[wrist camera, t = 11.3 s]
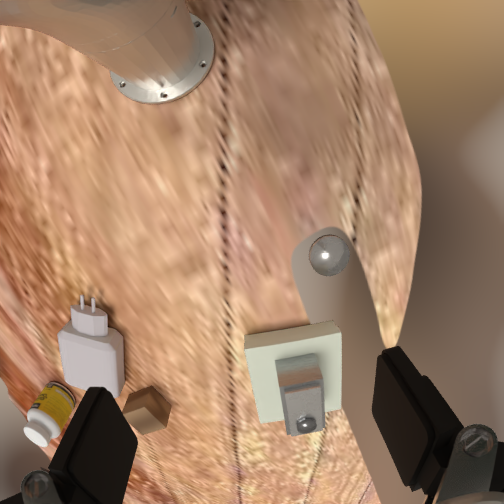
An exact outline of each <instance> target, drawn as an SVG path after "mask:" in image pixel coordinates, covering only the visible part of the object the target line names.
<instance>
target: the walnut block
mask: <svg viewBox="0 0 504 504" xmlns="http://www.w3.org/2000/svg"><path fill="white" fill-rule="evenodd" d="M170 410H171V405H170V404H169V403H168V402H167V401H166V400H165V399H164V398H163V397H162V396H161V395H160V394H159V393H158V392H157V391H156V390H155V389H154V387H153V386H149V387H147V388H144V389H142V390H139V391H137V392H134V393H132V394H129V396H128V399H127V401H126V404H125V406H124V409H123V411H122V413H123V415H124V417H125V419H126V420H127V421H128V422H129V423H130V424H131V425H132V426H133V427H134V428H135V429H136V430H138V431H139V432H140V433H141V434H142V435H144V434H148V433H151V432H154V431H158V430H161V429H164V428H166V427H167V423H168V419H169V414H170Z"/></svg>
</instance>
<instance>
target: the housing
mask: <svg viewBox="0 0 504 504" xmlns="http://www.w3.org/2000/svg"><path fill="white" fill-rule="evenodd" d="M275 365H276V371H277V377H278V383H279V389H280V395H281V401H282V407H283V413H284V419H285V425H286V431H287V435H290V434H291V436H297V435H302V434H307V433H312V432H317V431H322V430H323V428H325V403H324V381H323V376H322V373H321V370H320V368H319V365H318V362H317V359H316V357H315V354H314V353H311V354H306V355H300V356H295V357H290V358H284V359H279V360H275Z"/></svg>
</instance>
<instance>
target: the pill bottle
mask: <svg viewBox="0 0 504 504" xmlns="http://www.w3.org/2000/svg"><path fill="white" fill-rule="evenodd" d="M74 407H75V399H74V397H73V395H72V393H71V392H70V391H69V390H68V389H67V388H66V387H64V386H63V385H61V384H58V383H55V382H51V383H48V384H47V385H46V386H45V388H44V389H43V391H42V392H41V393H40V395H39V396H38V398H37V399H36V401H35V402H34V404H33V405H32V406H31V408H30V409H29V411H28V413H27V418H28V421H29V422H28V423H27V424H26V426H25V427H24V432H25V434H26V436H27V437H28V438H29V439H30V440H31V441H33V442H34V443H35V444H37V445H39V446H41V447H47V446H48V444H49V442H50V438H56V437H58V436H59V435H60V433H61V431H62V429H63V427H64V425H65V423H66V422H67V420H68V418H69V416H70V414H71V412H72V411H73V409H74Z"/></svg>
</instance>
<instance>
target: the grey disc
mask: <svg viewBox="0 0 504 504" xmlns="http://www.w3.org/2000/svg"><path fill="white" fill-rule="evenodd" d="M349 257H350V252H349V248H348V246H347V244H346V243H345V242H344V241H343V240H342V239H341V238H340V237H338V236H335V235H323V236H321V237H319V238H318V239H316V240H315V241H314V243H313V244H312V245H311V247H310V250H309V261H310V263H311V265H312V267H313V268H314V269H315V271H316V272H318V273H319V274H321V275H324V276H333V275H336V274H338V273H340V272H341V271H342V270H343V269H344V268H345V267H346V265H347V263H348V261H349Z"/></svg>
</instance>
